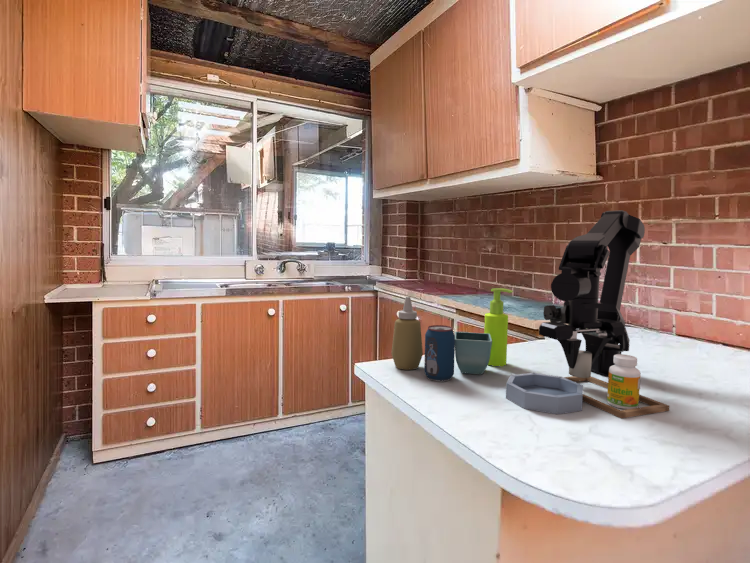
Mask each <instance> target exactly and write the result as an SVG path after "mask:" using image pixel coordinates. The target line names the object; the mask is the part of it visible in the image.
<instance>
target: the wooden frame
mask: <svg viewBox="0 0 750 563" xmlns="http://www.w3.org/2000/svg"><path fill="white" fill-rule="evenodd" d="M563 377H564V378H566V379H569V380H571V381H574V382H576V383H578V382H585V381H587V382H589V383H592V384H594V385H597V386H600V387H602V388H604V389H607V390H608V382H607V381H604V380H602V379H599V378H597V377H594V376H591V377H589V378H580V377H575V376H572V375H570V376H563ZM582 402H583V403H587V404H588V405H591V406H593V407H595V408H598V409H599V410H602V411H604V412H606V413H609V414H610V415H612V416H615V417H617V418H619V419H626V418H632V417H639V416H644V415H645V416H646V415H650V414H657V413H663V412H669V411H670V405H669V404H666V403H664V402H662V401H661V402H660V401H659V400H655V399H653V398H649V397H647V396H645V395H642V394H640V393H639V402H641V403H642V404H645V405H648V406H641V407H640V406H639V407H638V408H633V409H620V408H617V407H614V406H612V405H610V404H608V403H605V402H602V401H601V400H598V399H596V398H593V397H591V396H590V395H589V396H588V395H586V394H584V393H583V398H582Z"/></svg>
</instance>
